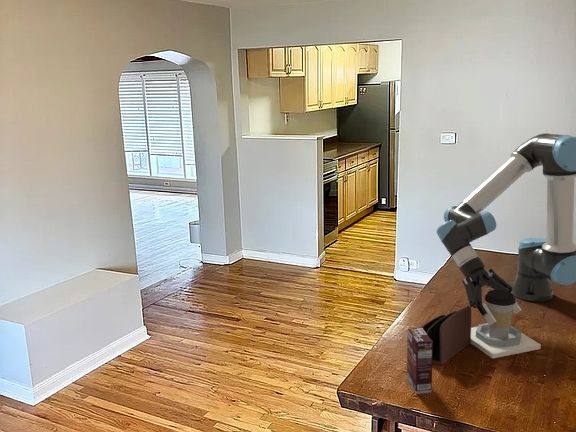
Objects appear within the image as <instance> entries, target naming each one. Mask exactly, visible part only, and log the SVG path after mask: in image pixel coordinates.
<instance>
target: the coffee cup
mask: <svg viewBox="0 0 576 432" xmlns="http://www.w3.org/2000/svg"><path fill="white" fill-rule="evenodd" d="M484 301H485V302H486V306H487V307H488V309H489V310H490V312H491V314H492V315H493V317H494V318H495V320H496V322H494V323H493V324H491V325H489V324H488V328H489V337H491V338H496V339H502V340H506V339H508V335H509V329H510V325H511V324H512V320H513V314H514V312H513V306H514V304H515V303H516V302H517V301H516V297H515V296H514V295H513V294H512V293H510V292H508V291H504V290H494V289H492V290H489V291H487V293H486V294H485V295H484ZM511 326H512V325H511Z"/></svg>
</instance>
